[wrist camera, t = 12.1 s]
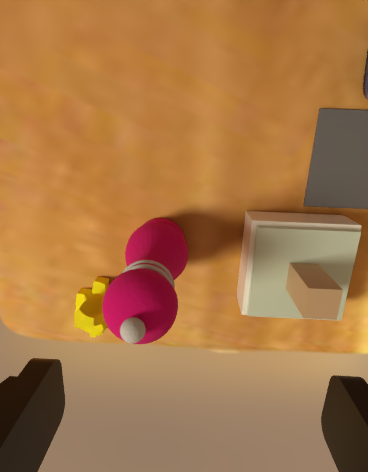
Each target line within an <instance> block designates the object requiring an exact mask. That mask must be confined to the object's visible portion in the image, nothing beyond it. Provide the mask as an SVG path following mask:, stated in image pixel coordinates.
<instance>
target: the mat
mask: <svg viewBox="0 0 368 472" xmlns="http://www.w3.org/2000/svg"><path fill="white" fill-rule="evenodd" d="M304 206H314V207H336V208H359V209H368V110H346V109H319V115H318V121H317V127H316V133H315V139H314V145H313V151H312V157H311V163H310V169H309V176H308V182H307V188H306V194H305V200H304Z"/></svg>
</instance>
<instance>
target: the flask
mask: <svg viewBox="0 0 368 472" xmlns="http://www.w3.org/2000/svg"><path fill="white" fill-rule="evenodd" d="M367 54H368V52H367ZM363 90H364V95H365V98H366V99H367V100H368V55H367V60H366V66H365V73H364V83H363Z"/></svg>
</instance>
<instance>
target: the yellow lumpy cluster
mask: <svg viewBox="0 0 368 472" xmlns="http://www.w3.org/2000/svg"><path fill="white" fill-rule="evenodd" d="M108 286H109V278H105V277H97V278H96V279H95V281H94V284H93V288H92V289H85V288H81V289H80V291H79V292H78V294H77V298H76V304H75V306H77V307H76V311H75V313H74V321H75V327H76V328H80V329H83V330H84V331H86V332H88V333H90V336H91V337H92V338H93V337H95V336H98V335H101V334H103V332H104V330H105V329H106V328H107V327H108V326H107V324H106V322H105V320H104V317H103V311H102V305H103V298H104V295H105V293H106V290H107V288H108Z"/></svg>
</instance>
